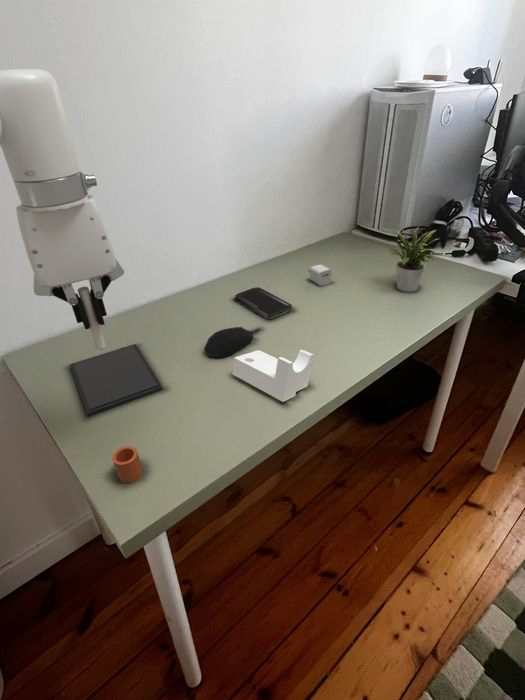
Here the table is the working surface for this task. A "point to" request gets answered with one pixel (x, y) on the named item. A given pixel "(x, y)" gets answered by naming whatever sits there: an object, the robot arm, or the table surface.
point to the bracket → (274, 373)
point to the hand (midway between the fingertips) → (93, 322)
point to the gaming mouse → (228, 341)
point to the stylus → (92, 317)
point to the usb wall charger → (320, 274)
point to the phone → (263, 303)
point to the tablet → (114, 379)
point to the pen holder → (127, 464)
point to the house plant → (412, 261)
